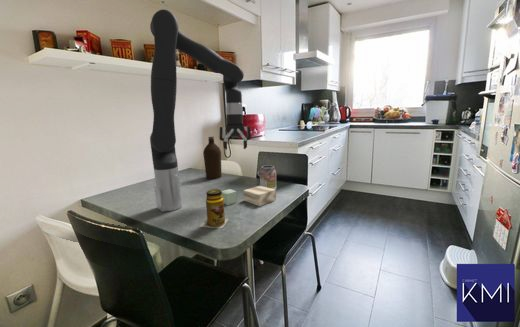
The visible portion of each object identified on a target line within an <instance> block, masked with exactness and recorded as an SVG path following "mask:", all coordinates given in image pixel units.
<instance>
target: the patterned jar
mask: <svg viewBox="0 0 520 327" xmlns="http://www.w3.org/2000/svg"><path fill="white" fill-rule="evenodd" d="M256 175H257V176H258V177H259V186H264V187H268V188H272V189H275V190H276V191H277V171H276V169H275V165H271V164H270V165H268V164H267V165H262V166H260V169H258V170H257V173H256Z"/></svg>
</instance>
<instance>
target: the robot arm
mask: <svg viewBox="0 0 520 327" xmlns="http://www.w3.org/2000/svg"><path fill="white" fill-rule="evenodd" d="M178 22H179V21H178V20H177V17H176V16H175V14H174V13H172V11H170V10H168V9H159V10H158V11H156V12H155V13H154V14H153V15H152V17H151V21H150V24H149V25H150V26H149V27H150V28H149V29H150V32H151V34H152V36H153V37H154V38H153V39H154V53H153V58H152V64H151V72H150V99H151V104H152V105H151V106H152V112H153V121H152V132H151V134H150V136H149V144H150V150H151V159H152V165H153V172H154V180H155V186H154V193H155V204H156V209H157V210H159V211H160V212H162V213H163V212H172V211H175V210H178V209H180V208H182V205H183V204H182V195H181V193H182V192H181V185H180V184H181V183H180V176H179V175H180V174H179V167H178V166H179V164H178V159H177V154H176V147H175V146H176V142H177V140H176V139H177V138H176V137H177V136H176V130H175V128H176V127H175V110H176V103H177V89H178V88H177V83H178V82H177V81H178V79H177V58H176V57H177V56H176V52H177V50H178V51H180V52H181V53H183V54H185V55H187V56H189V57H190V58H192V59H193V60H195V61H197V62H198V63H199V64H201V65H202V66H204V67H205V68H207V69H208V70H210V71H211V72H213V73H216V74H220V75H222V82H223V87H224V91H225V102H226V104H225V115H226V116H225V117H226V118H225V121H226V126H224V127H223V126H219V136H218V137H219V141H222V142H223V149H225V151H226V150H228V142H227V140H228V139H229V138H230V137H241V138H242V140H243V141H242V142H243V143H242V144H243V150H246V149H247V148H248V141H249V140H252V135H251V127H250V126H249V125H248V126H244V113H243V112H244V111H243V98H242V97H243V94H242V91H241V90H240V89H239V83H241V82H242V81H243V79H244V76H245V75H244V71H243V69H242V68H241V67H240V66H239V65H237V63H234V62H232V61H231V60H229V59H226V58H223V57H222V56H221V55H220V54H219V53H217V52H216V51H214V50H212V49H211V48H209V47H208V46H206V45H204V44H202V43H199V42H197V41H195V40H193V39H191V38H189V37H188V36H186V35H185V34H183V33H182V32H181V31H180V30H179V23H178ZM225 131H226V132H227V134H226V135H225V136H224V137H223V132H225ZM243 131H245V132H246V135H247V137H246V136H245V135H244V133H243Z"/></svg>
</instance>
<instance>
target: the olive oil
mask: <svg viewBox="0 0 520 327" xmlns="http://www.w3.org/2000/svg"><path fill="white" fill-rule="evenodd" d="M202 154H203V159H204V160H203V161H204V168H205V169H204V170H205V178H206V179H207V178H208V179H207V180H217V179H221V178H222V151H221V148H220V147H219V146H218V145H217V144H216V143H215V137H214V136H208V144H207V145H206V146H204V149H203V152H202ZM220 177H221V178H220ZM216 178H217V179H216Z"/></svg>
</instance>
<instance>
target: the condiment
mask: <svg viewBox="0 0 520 327" xmlns="http://www.w3.org/2000/svg"><path fill="white" fill-rule="evenodd" d="M222 191H223V190H221V189H215V188H214V189H209V190H208V191H206V192H205V193H206V199H205V206H206V218H205V219H204V220H203V222H202V223H201V224H200V225H199V226H198V228H211V229H223V228H224V227H225V226H226V224H227V223H228V220H229V218H225V217H226V216H225V215H226V214H225V204H224V200H223V197H222Z"/></svg>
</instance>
